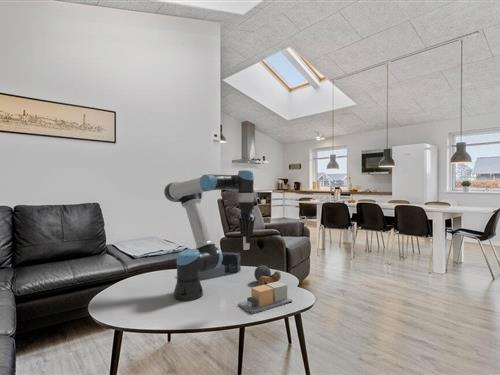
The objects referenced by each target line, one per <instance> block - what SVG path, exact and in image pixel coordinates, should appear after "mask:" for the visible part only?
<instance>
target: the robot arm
mask: <svg viewBox="0 0 500 375" xmlns="http://www.w3.org/2000/svg"><path fill="white" fill-rule="evenodd" d="M237 172H238V174H212V173H209V174H208V173H207V174H202V175H201V176H200V177H196V178H193V179H189V180H185V181H181V182H178V181H175V182H174V181H173V182H170V183H168V184H166V186H165V187H164V190H163V194H164V196H165V198H166V199H167V200H168V201H170V202H173V203H180V204H181V207H182V208H184V209H185V212H186V214H187V219H188V222H189V225H190V229H191V233H192V235H193V236H192V237H193V238H194V242H195V245H196V247H195V248H191V249H185V250H181V251H180V252H179V253H178V254H177V255H176V284H175V288H174V291H173V299H175V300H178V301H182V302H183V301H187V302H189V301H194V300H197V299H199V298H202V297H203V296H204V290H203V286H202V284H201V280H199V273H202V272H205V271H209V270H213V269H216V268H218V267H219V266H220V265H221V263H222V259H223V256H222V253H223V252H222V249H221V248H219V247H217V246H216V243H215V242H212V241H211V237H210V234H209V231H208V227H207V224H206V221H205V217H204V215H203V211H202V208H201V205H200V204H201V202H202V198H203V193H204V192H211V191H221V190H222V191H223V190H224V191H225V190H226V191H232V190H238V191H237V192H238V194H237V198H238V210H240V213H239V214H237V219H238V225H239V234H240V235H242V242H243V243H242V249H243V251H247V250H250V245H251V244H250V243H251V242H250V241H251V239H250V238H251V236H253V233H254V227H255V221H256V216H253V211H252V210H254V209H255V208H254V207H255V204H254V203H255V202H254V200H255V198H254V196H255V193H254V180H255V179H254V178H255V177H254V172H253V170H249V169H244V170H242V169H241V170H238V171H237Z"/></svg>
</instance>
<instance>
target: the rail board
mask: <svg viewBox="0 0 500 375" xmlns="http://www.w3.org/2000/svg"><path fill="white" fill-rule="evenodd" d="M265 285H266V286H269V287H271V288H273V303H272V304H268V305H265V306H261V307H259V306H258V301H257V300H255V299H254V298H252V297H251V296H249V297H247V298H246V299H247V300H245V301H241V302H238V304H237V305H238V306H239V307H240V308H242V309H243V310H245V311H247V312H248V313H249V314H251V315H253V314H257V313H261V312H264V311H266V310H269V309H274V308H276V307H277V308H278V307H280V305H281V306H283V304H284V305H287V304H290V303H289V302H291V303H293V299H291V298H289V297H288V284H286V283H284V282H281V281H280V280H279V281H277V282H273V283H267V284H265ZM286 303H287V304H286Z"/></svg>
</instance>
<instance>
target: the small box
mask: <svg viewBox="0 0 500 375" xmlns="http://www.w3.org/2000/svg"><path fill="white" fill-rule="evenodd" d="M222 256H223V259H222V263H221V265H224V266H225V273H234V272H238V273H240V271H241V268H242V267H241V265H242V263H241V252H224V251H223V252H222Z"/></svg>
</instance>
